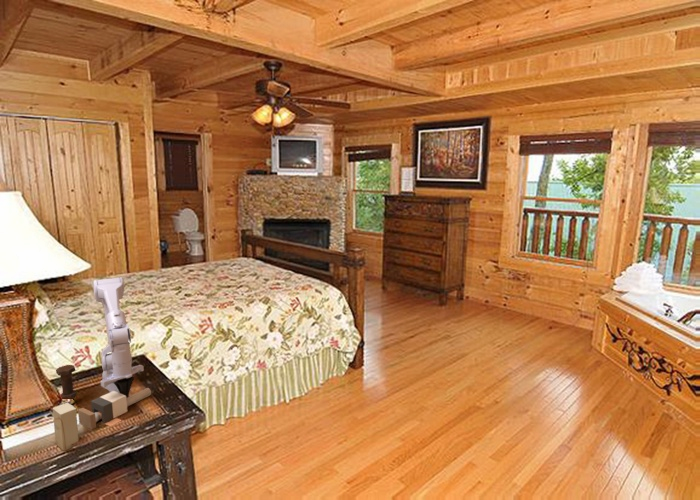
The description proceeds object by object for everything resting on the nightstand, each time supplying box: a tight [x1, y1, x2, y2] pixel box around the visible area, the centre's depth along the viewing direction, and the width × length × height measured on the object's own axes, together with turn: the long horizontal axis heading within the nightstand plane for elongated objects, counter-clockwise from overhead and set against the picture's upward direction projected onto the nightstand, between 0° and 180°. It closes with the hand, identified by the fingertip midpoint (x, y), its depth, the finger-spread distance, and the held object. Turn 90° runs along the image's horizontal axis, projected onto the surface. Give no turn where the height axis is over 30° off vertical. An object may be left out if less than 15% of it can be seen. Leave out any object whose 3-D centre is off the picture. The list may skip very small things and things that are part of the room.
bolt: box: [55, 364, 78, 401], centre depth 147 cm, size 6×5×15 cm
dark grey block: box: [90, 396, 113, 424], centre depth 139 cm, size 7×3×6 cm, turn 62°
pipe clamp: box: [77, 387, 152, 431], centre depth 144 cm, size 16×26×6 cm, turn 152°
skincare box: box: [52, 402, 80, 452], centre depth 126 cm, size 6×4×12 cm
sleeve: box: [100, 391, 128, 420], centre depth 142 cm, size 7×5×6 cm
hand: (124, 397), depth 146 cm, fingers closed
